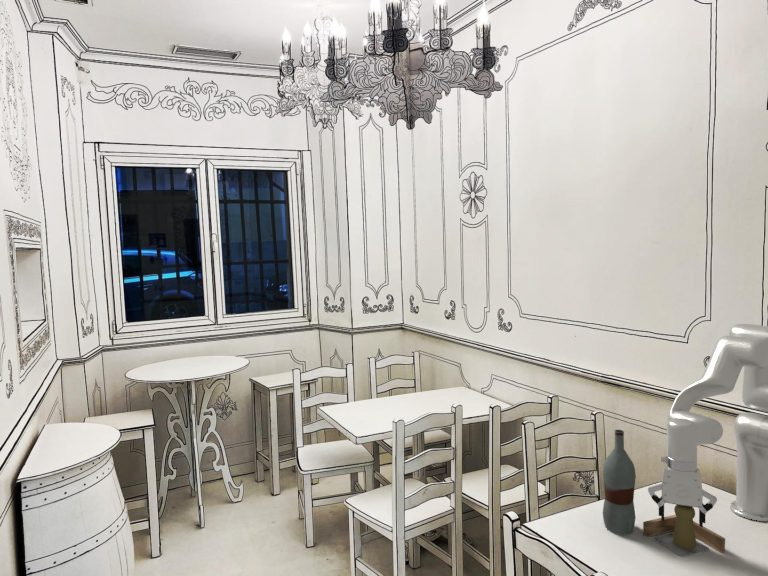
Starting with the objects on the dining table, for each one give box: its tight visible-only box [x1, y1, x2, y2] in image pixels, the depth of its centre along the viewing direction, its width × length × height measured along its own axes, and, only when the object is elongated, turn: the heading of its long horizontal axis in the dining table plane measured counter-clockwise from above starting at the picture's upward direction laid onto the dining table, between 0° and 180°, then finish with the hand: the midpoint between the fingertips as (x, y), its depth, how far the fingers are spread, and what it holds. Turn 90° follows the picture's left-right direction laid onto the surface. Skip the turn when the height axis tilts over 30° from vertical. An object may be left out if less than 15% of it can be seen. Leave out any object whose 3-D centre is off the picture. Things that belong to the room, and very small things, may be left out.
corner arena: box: [642, 514, 726, 557], centre depth 161 cm, size 14×15×4 cm
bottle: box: [602, 429, 637, 535], centre depth 169 cm, size 9×9×30 cm
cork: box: [672, 504, 697, 549], centre depth 160 cm, size 6×6×11 cm
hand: (681, 521), depth 160 cm, fingers open, 9 cm apart
